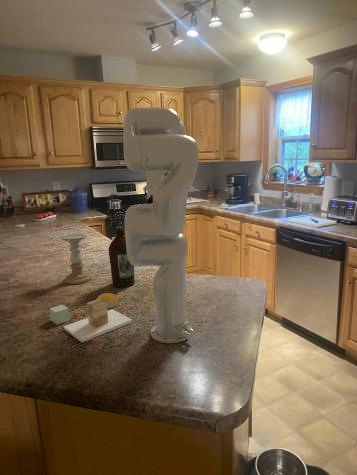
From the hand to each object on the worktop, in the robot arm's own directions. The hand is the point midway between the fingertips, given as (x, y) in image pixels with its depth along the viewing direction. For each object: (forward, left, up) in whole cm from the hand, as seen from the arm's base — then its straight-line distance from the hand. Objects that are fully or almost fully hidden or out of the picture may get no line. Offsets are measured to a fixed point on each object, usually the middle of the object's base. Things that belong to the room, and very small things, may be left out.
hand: (159, 211), depth 130 cm
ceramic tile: (-4, +31, -33) cm, 46 cm away
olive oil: (+23, +3, -34) cm, 41 cm away
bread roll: (+9, +20, -34) cm, 40 cm away
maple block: (-4, +31, -32) cm, 45 cm away
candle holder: (+43, +14, -34) cm, 56 cm away
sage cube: (+9, +38, -33) cm, 51 cm away
